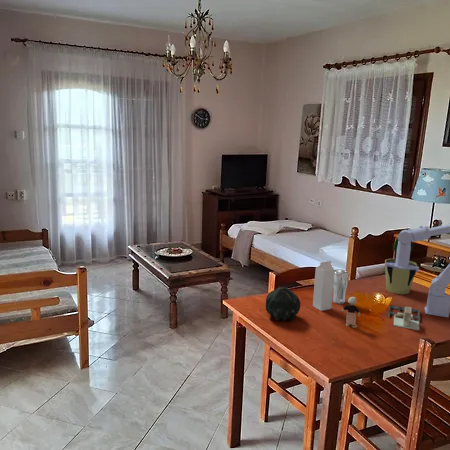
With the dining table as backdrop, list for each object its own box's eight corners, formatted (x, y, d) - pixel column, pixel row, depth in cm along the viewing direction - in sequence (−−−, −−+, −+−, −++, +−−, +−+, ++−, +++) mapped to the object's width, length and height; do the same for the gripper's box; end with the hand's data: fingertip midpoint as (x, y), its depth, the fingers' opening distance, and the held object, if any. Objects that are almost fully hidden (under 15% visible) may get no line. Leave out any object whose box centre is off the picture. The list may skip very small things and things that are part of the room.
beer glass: (346, 304, 205) (349, 274, 202) (331, 303, 206) (333, 273, 203) (345, 299, 211) (348, 269, 208) (330, 297, 213) (333, 268, 210)
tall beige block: (409, 320, 189) (411, 307, 187) (409, 326, 182) (411, 313, 181) (403, 319, 189) (404, 306, 188) (403, 325, 183) (404, 312, 182)
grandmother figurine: (359, 325, 184) (362, 296, 181) (359, 328, 180) (362, 300, 178) (340, 322, 186) (343, 294, 183) (339, 325, 183) (342, 297, 180)
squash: (287, 295, 200) (273, 275, 192) (311, 307, 188) (297, 287, 180) (268, 319, 196) (252, 300, 188) (291, 333, 185) (276, 314, 176)
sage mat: (418, 322, 188) (418, 321, 188) (419, 330, 181) (419, 329, 180) (393, 318, 191) (394, 317, 191) (393, 325, 184) (393, 324, 184)
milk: (312, 306, 202) (315, 260, 198) (323, 304, 205) (326, 259, 200) (321, 311, 197) (324, 264, 192) (331, 309, 200) (335, 262, 195)
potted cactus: (388, 295, 218) (395, 237, 212) (377, 284, 233) (383, 229, 227) (419, 296, 218) (426, 238, 212) (406, 285, 233) (413, 230, 227)
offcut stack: (413, 319, 192) (413, 314, 192) (413, 322, 189) (414, 317, 189) (393, 316, 195) (394, 311, 194) (394, 319, 192) (394, 314, 191)
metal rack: (418, 312, 199) (419, 309, 199) (419, 322, 188) (420, 319, 188) (389, 307, 203) (389, 304, 203) (388, 317, 193) (388, 314, 192)
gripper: (385, 256, 201) (382, 284, 203) (420, 260, 195) (416, 289, 198) (386, 252, 207) (383, 279, 210) (419, 256, 202) (416, 284, 205)
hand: (399, 283), depth 204 cm, fingers open, 7 cm apart
